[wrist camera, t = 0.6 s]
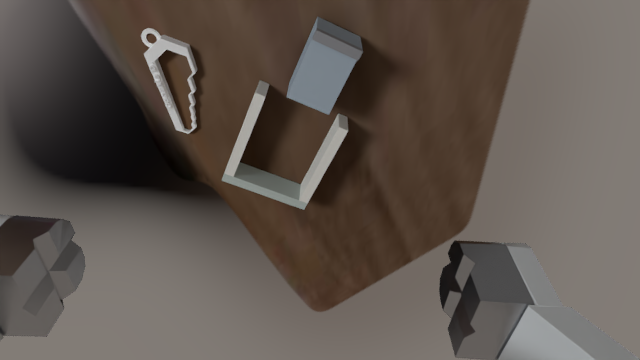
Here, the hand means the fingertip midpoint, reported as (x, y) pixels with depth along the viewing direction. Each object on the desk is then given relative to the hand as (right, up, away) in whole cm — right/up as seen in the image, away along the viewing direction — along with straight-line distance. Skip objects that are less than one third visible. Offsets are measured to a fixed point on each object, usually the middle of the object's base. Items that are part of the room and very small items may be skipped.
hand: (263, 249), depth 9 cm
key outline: (-15, +13, +40) cm, 45 cm away
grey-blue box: (+2, +15, +38) cm, 41 cm away
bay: (-3, +7, +44) cm, 44 cm away
